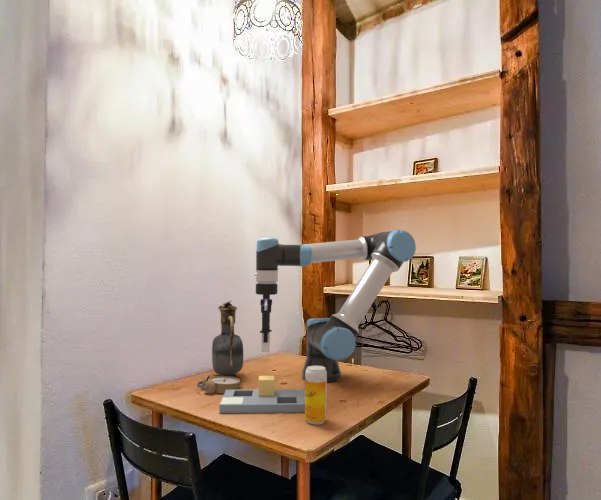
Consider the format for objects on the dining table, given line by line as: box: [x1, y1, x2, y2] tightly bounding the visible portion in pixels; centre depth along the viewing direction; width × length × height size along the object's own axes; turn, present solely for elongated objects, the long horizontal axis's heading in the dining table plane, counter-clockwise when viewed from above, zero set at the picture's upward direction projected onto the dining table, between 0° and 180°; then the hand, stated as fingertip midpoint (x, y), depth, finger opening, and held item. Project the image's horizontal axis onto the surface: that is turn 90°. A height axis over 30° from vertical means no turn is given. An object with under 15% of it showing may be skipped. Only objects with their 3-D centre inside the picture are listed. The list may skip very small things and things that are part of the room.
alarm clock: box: [196, 375, 243, 395], centre depth 148 cm, size 11×5×15 cm
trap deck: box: [218, 388, 305, 414], centre depth 133 cm, size 26×15×2 cm, turn 93°
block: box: [258, 375, 275, 396], centre depth 137 cm, size 5×5×5 cm
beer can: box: [304, 366, 328, 426], centre depth 120 cm, size 6×6×15 cm
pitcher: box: [211, 300, 244, 378], centre depth 162 cm, size 11×19×30 cm, turn 18°
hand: (265, 351), depth 146 cm, fingers closed
